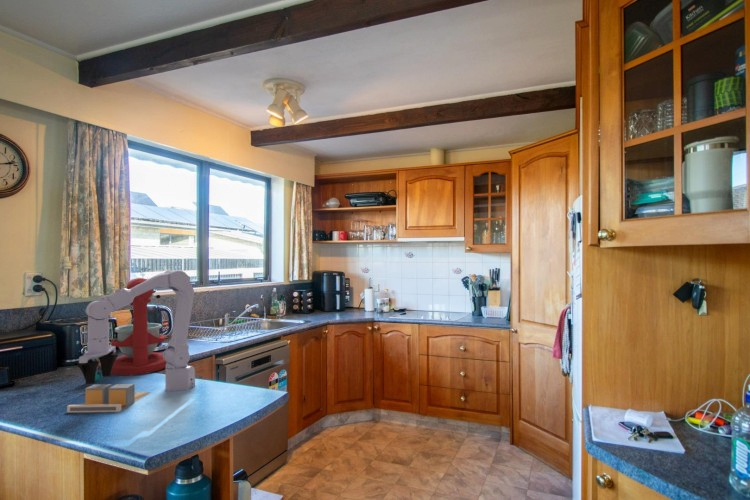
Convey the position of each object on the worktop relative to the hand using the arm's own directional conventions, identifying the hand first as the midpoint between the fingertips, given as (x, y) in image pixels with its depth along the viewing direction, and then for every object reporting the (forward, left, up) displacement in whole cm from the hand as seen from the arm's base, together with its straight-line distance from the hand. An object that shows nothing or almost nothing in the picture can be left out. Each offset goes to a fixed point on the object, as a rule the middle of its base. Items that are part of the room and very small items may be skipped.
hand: (98, 379), depth 130 cm
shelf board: (-2, -3, -9) cm, 10 cm away
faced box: (-7, 0, -8) cm, 11 cm away
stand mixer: (+16, -51, -10) cm, 54 cm away
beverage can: (+21, -29, -10) cm, 37 cm away
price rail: (-2, +6, -8) cm, 10 cm away
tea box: (0, 0, -8) cm, 8 cm away
